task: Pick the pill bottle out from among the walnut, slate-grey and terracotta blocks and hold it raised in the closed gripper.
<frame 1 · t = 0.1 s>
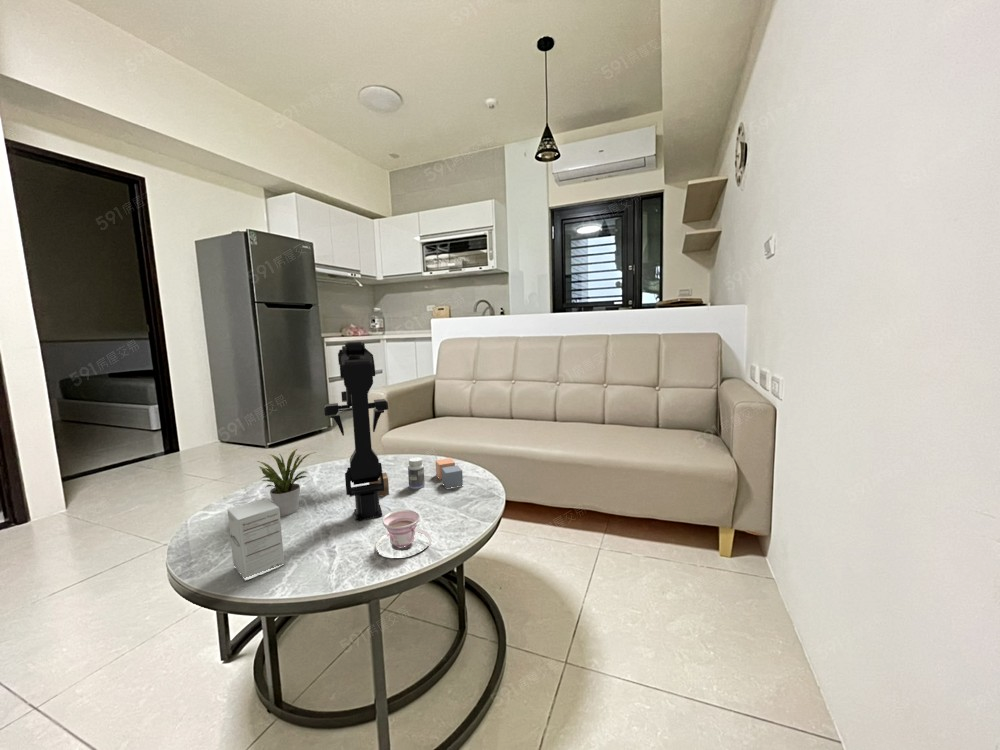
hand: (358, 433, 126), 15 cm above the table, tool pointing down, fingers open, 9 cm apart
terracotta block: (445, 476, 127), on the table
slate-grey block: (452, 485, 119), on the table
pill bottle: (416, 486, 119), on the table
house plant: (292, 509, 106), on the table
teacup: (403, 545, 87), on the table
supplement box: (259, 568, 79), on the table
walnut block: (379, 492, 115), on the table
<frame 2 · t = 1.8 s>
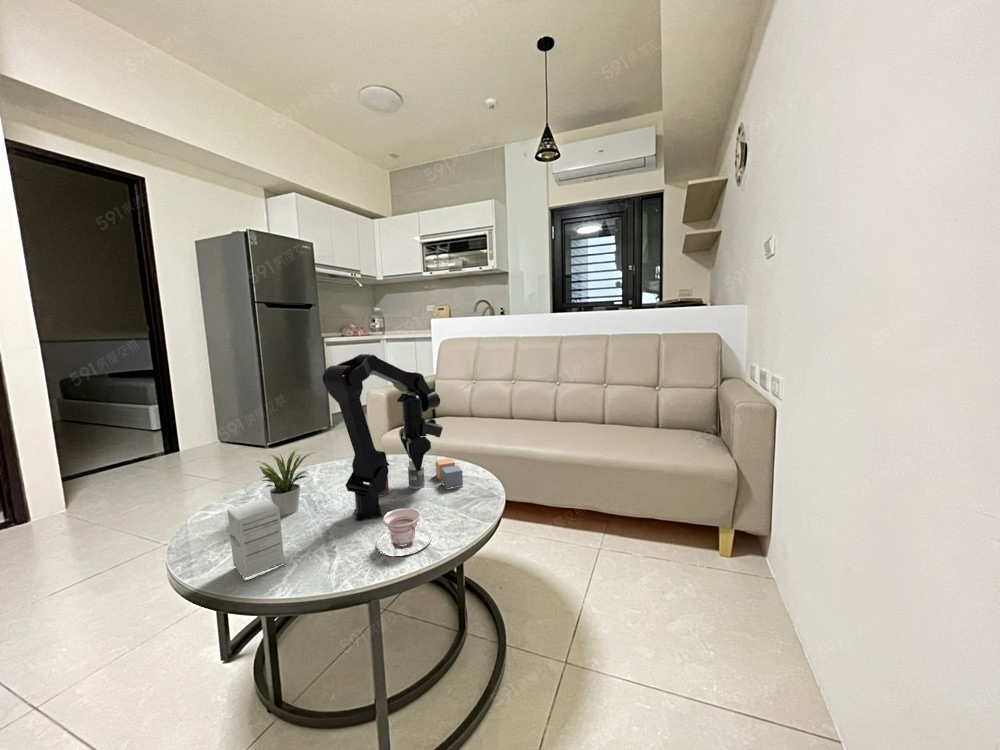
hand: (415, 466, 118), 6 cm above the table, tool pointing down, fingers open, 9 cm apart
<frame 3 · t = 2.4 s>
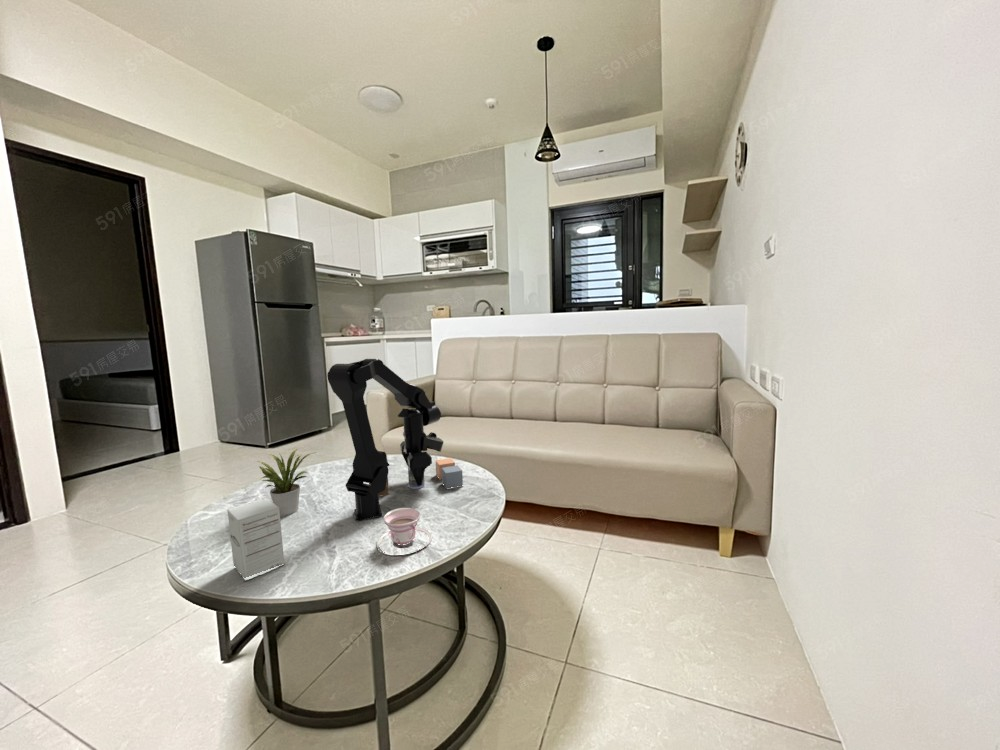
hand: (416, 480, 119), 2 cm above the table, tool pointing down, fingers open, 9 cm apart
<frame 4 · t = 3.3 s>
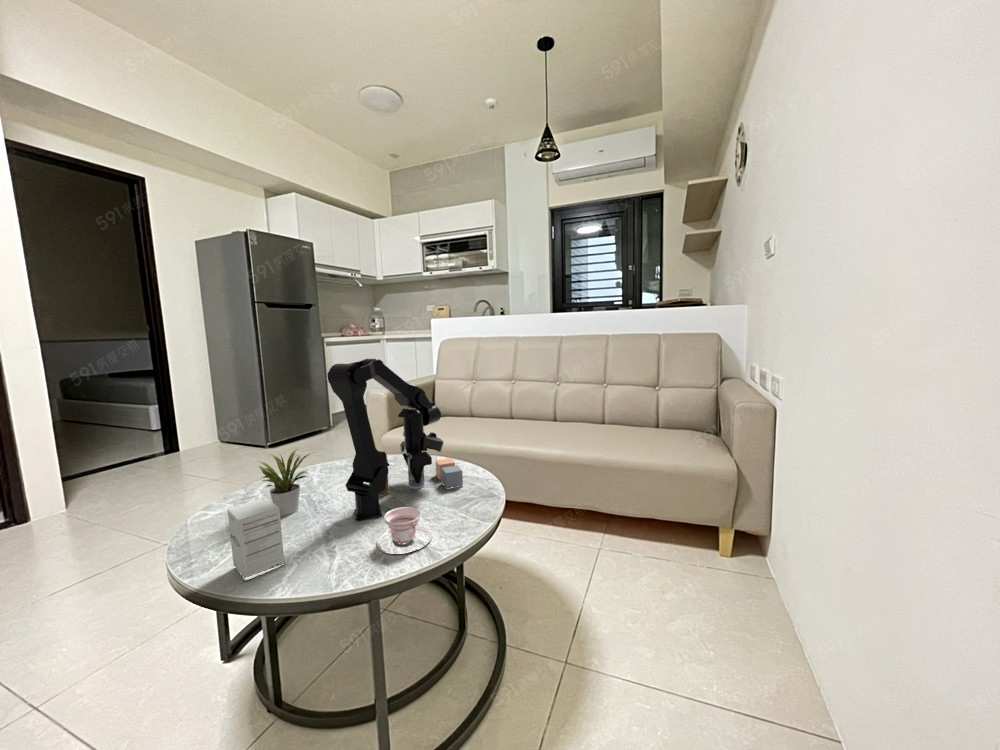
hand: (416, 480, 119), 2 cm above the table, tool pointing down, fingers closed on pill bottle, 5 cm apart
pill bottle: (416, 486, 119), on the table, touching gripper
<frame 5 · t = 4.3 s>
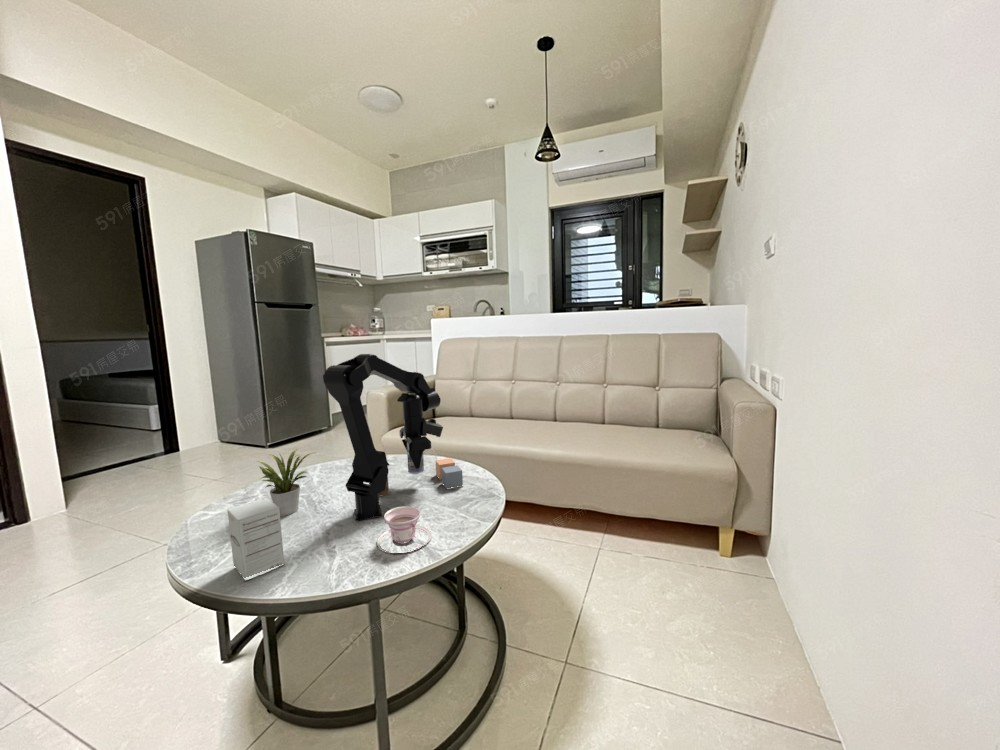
hand: (415, 465, 119), 6 cm above the table, tool pointing down, fingers closed on pill bottle, 5 cm apart
pill bottle: (416, 472, 119), point 4 cm above the table, touching gripper
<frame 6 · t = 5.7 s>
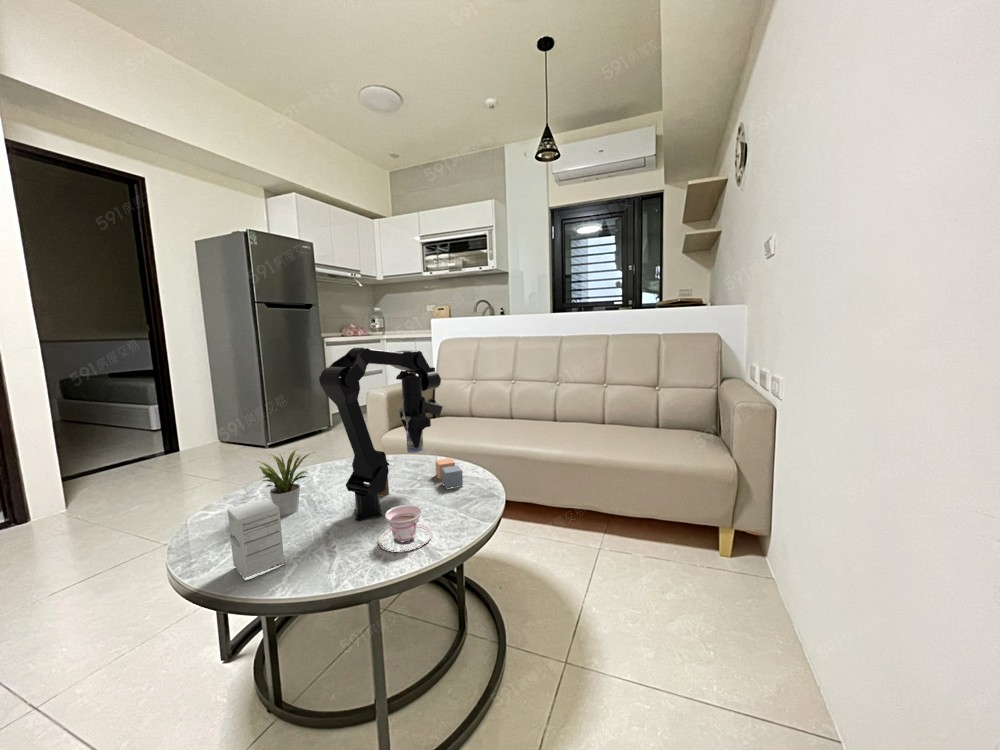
hand: (415, 445, 117), 13 cm above the table, tool pointing down, fingers closed on pill bottle, 5 cm apart
pill bottle: (415, 452, 117), point 11 cm above the table, touching gripper
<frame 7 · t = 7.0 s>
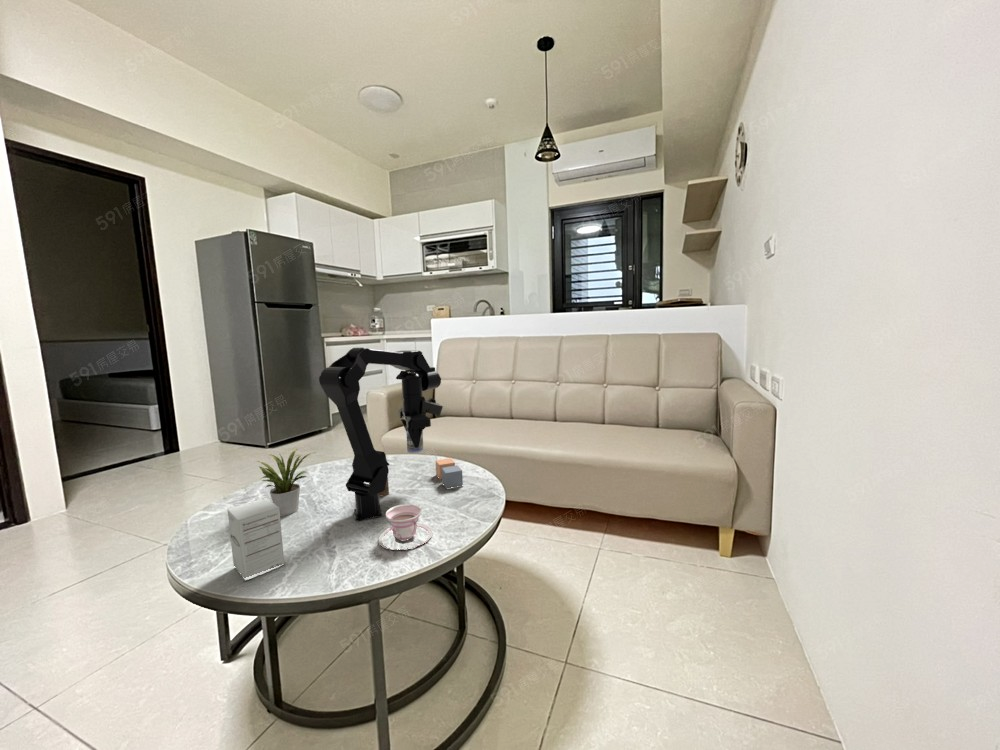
hand: (415, 445, 117), 13 cm above the table, tool pointing down, fingers closed on pill bottle, 5 cm apart
pill bottle: (415, 451, 117), point 11 cm above the table, touching gripper
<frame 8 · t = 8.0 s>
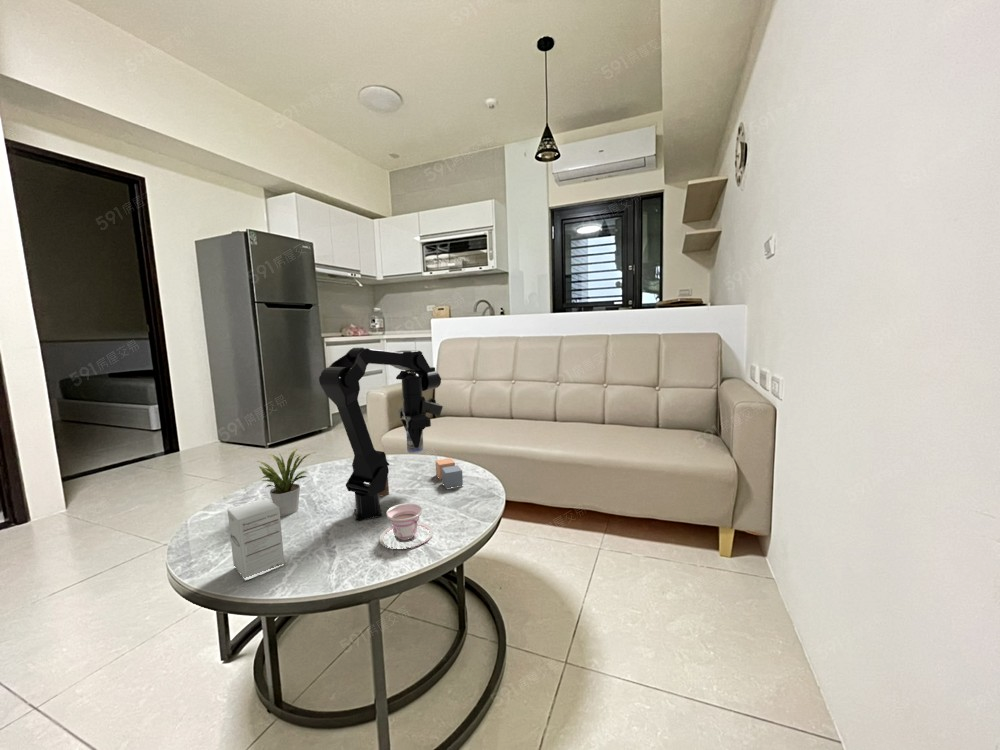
hand: (415, 445, 117), 13 cm above the table, tool pointing down, fingers closed on pill bottle, 5 cm apart
pill bottle: (415, 451, 117), point 11 cm above the table, touching gripper
at the end: the gripper is holding pill bottle; pill bottle point 10.9 cm above the table; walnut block moved 0.1 cm from its start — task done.
